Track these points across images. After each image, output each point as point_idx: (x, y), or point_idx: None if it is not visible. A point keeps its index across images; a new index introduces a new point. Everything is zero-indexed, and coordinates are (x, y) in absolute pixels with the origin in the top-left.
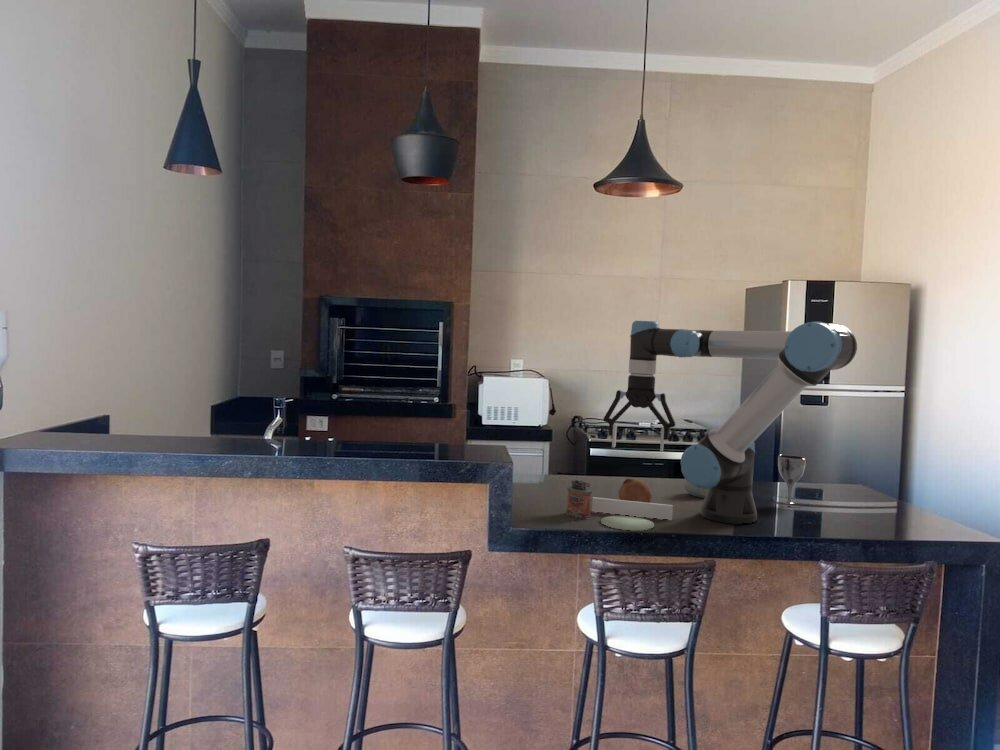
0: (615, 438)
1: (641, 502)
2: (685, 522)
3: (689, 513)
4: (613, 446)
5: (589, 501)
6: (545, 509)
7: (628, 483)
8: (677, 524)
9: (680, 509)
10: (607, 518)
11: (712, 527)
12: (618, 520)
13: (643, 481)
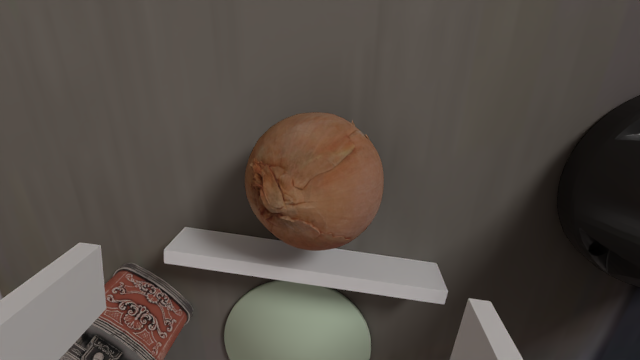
0: (54, 330)
1: (335, 282)
2: (474, 285)
3: (520, 160)
4: (94, 312)
5: (166, 353)
6: (49, 244)
7: (275, 225)
8: (443, 312)
9: (500, 103)
10: (239, 321)
11: (548, 319)
12: (271, 334)
13: (343, 207)
